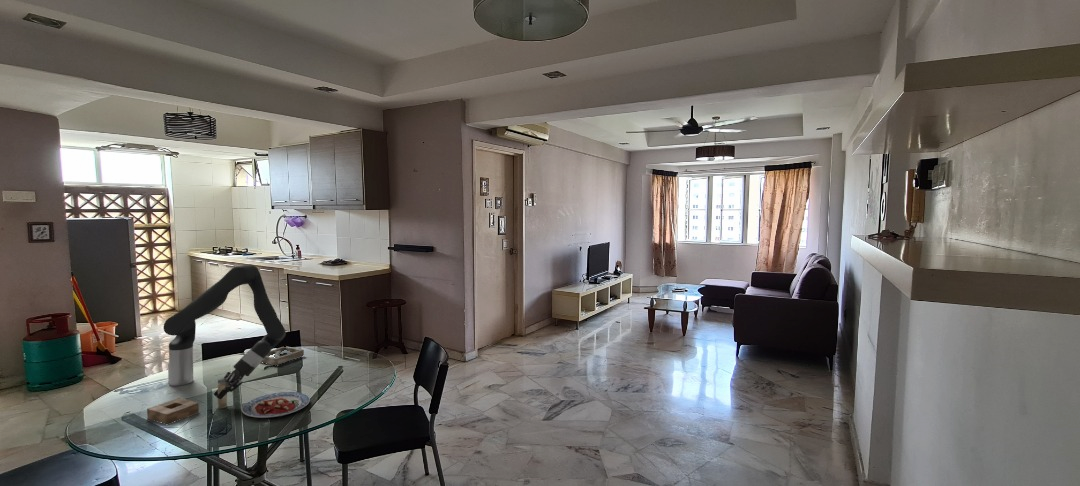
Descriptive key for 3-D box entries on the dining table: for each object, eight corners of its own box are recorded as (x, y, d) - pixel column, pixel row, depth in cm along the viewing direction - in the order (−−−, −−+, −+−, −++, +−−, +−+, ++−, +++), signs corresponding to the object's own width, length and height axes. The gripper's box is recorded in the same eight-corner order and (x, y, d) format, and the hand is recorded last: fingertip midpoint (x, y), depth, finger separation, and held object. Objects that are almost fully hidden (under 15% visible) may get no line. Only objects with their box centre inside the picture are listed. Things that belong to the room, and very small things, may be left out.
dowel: (216, 407, 199) (216, 380, 198) (223, 404, 202) (223, 377, 201) (221, 408, 198) (221, 381, 197) (228, 405, 201) (228, 379, 200)
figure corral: (256, 362, 255) (256, 355, 255) (285, 352, 273) (285, 346, 272) (275, 366, 250) (275, 359, 250) (303, 356, 268) (303, 349, 267)
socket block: (147, 418, 186) (147, 408, 186) (179, 407, 197) (179, 397, 197) (167, 424, 182) (167, 414, 182) (198, 412, 193) (198, 402, 193)
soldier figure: (268, 366, 253) (265, 353, 262) (275, 370, 256) (272, 357, 265) (280, 355, 255) (276, 343, 263) (287, 359, 258) (283, 348, 267)
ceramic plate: (238, 426, 184) (238, 419, 184) (245, 401, 207) (245, 394, 206) (310, 415, 196) (310, 409, 196) (309, 393, 219) (309, 387, 218)
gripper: (236, 354, 209) (204, 388, 200) (247, 362, 200) (214, 397, 191) (249, 363, 213) (218, 396, 204) (261, 371, 204) (229, 406, 196)
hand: (216, 396), depth 198 cm, fingers closed on dowel, 3 cm apart
